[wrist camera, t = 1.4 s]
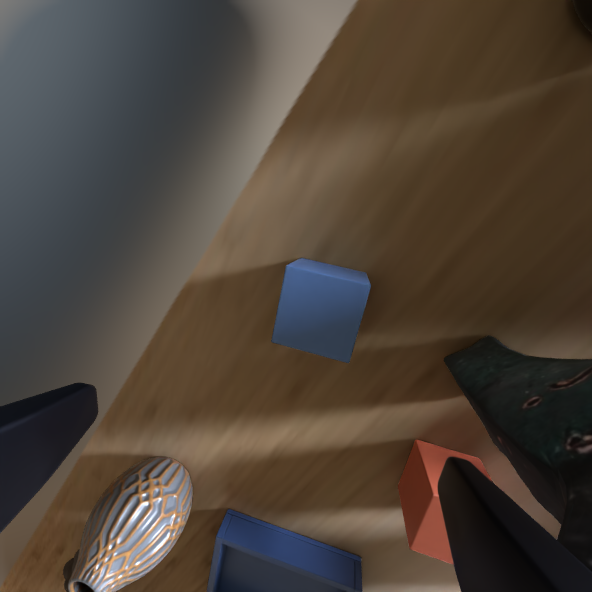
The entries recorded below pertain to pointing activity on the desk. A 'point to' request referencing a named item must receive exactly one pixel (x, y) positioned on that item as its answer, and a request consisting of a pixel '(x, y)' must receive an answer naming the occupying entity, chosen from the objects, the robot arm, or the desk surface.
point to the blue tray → (277, 560)
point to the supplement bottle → (584, 12)
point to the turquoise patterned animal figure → (538, 427)
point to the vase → (133, 525)
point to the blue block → (321, 308)
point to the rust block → (427, 498)
